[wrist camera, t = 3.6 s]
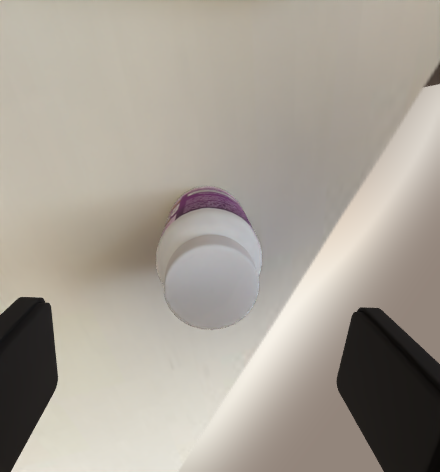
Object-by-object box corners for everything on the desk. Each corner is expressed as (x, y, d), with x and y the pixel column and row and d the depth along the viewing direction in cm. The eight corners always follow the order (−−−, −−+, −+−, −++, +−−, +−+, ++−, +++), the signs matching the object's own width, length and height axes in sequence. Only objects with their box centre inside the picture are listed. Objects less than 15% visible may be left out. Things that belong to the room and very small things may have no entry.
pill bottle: (163, 188, 21) (134, 233, 12) (241, 181, 21) (274, 219, 12) (173, 262, 22) (156, 350, 13) (245, 254, 23) (277, 337, 14)
